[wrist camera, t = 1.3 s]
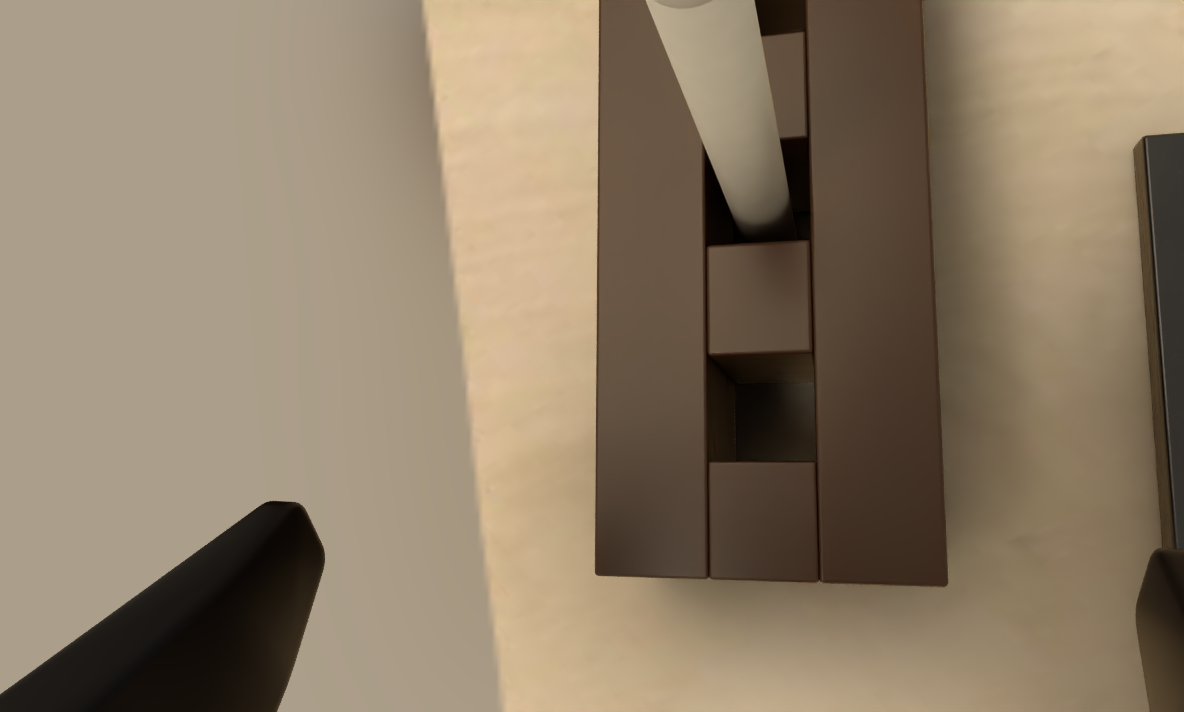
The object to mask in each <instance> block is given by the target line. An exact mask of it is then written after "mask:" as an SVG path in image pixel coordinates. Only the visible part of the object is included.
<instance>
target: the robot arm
mask: <svg viewBox="0 0 1184 712" xmlns="http://www.w3.org/2000/svg"><path fill="white" fill-rule="evenodd" d="M324 564H325V553H324V548H323V545H322V543H321V541H320V539H319V537H318V534H317V532H316V530H315V528H314V526H313V524H312V522H311V520H310V518H309V516H308V513H307V512H306V510H305V508H304V507H303V506H302V505H300V504H299V503H296V502H282V501H270V502H266V503H264V504H262V505H261V506H259V507H258V508H256V509H255V510H254V511H252V512H251V513H249V514H248V515H247V516H245V517H244V518H242V519H241V520H240V521H238V522H237V523H236V524H234V525H233V526H231V528H229V529H227V530H226V531H225V532H223V533H222V534H220V535H219V536H218V537H216V538H215V539H214V540H213V541H211V542H210V543H208V544H207V545H205V546H204V547H203V548H201V549H200V550H198V551H197V552H196V553H194V554H193V555H192V556H190V557H189V558H188V559H186V560H185V561H183V562H182V563H181V564H179V565H178V566H176V567H175V568H174V569H172V570H171V571H170V572H168V573H167V574H165V575H164V576H163V577H161V578H160V579H159V580H157V581H156V582H154V583H153V584H152V585H150V586H149V587H148V588H146V589H145V590H144V591H142V592H141V593H139V594H138V595H137V596H135V597H134V598H132V599H131V600H130V601H128V602H127V603H126V604H124V605H123V606H121V607H120V608H119V609H117V610H116V611H114V612H113V613H112V614H111V615H109V616H108V617H106V618H105V619H104V620H102V621H101V622H99V623H98V624H97V625H95V626H94V627H92V628H91V629H90V630H88V631H87V632H86V633H84V634H83V635H81V636H80V637H79V638H77V639H76V640H75V641H73V642H72V643H70V644H69V645H68V646H66V647H65V648H64V649H62V650H61V651H59V652H58V653H57V654H55V655H54V656H53V657H51V658H50V659H48V660H47V661H46V662H44V663H43V664H42V665H40V666H39V667H37V668H36V669H35V670H33V671H32V672H31V673H29V674H28V675H27V676H25V677H24V678H22V679H21V680H19V681H18V682H17V683H15V684H14V685H13V686H11V687H10V688H8V689H7V690H6V691H4V692H3V693H1V694H0V712H277V710H278V708H279V705H280V703H281V700H282V698H283V695H284V693H285V690H286V687H287V685H288V682H289V679H290V676H291V673H292V670H293V667H294V664H295V661H296V658H297V655H298V651H299V648H300V645H301V641H302V638H303V635H304V632H305V628H306V625H307V622H308V619H309V615H310V612H311V609H312V606H313V602H314V599H315V596H316V592H317V589H318V586H319V582H320V579H321V576H322V573H323V569H324ZM1136 628H1137V634H1138V640H1139V647H1140V653H1141V659H1142V665H1143V672H1144V678H1145V684H1146V690H1147V696H1148V703H1149V709H1150V712H1184V549H1175V548H1159V549H1157V550H1155V551H1154V552H1153V553H1152V555H1151V557H1150V560H1149V563H1148V566H1147V570H1146V573H1145V576H1144V580H1143V583H1142V587H1141V590H1140V593H1139V597H1138V600H1137V604H1136Z"/></svg>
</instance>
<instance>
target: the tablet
mask: <svg viewBox="0 0 1184 712" xmlns="http://www.w3.org/2000/svg"><path fill="white" fill-rule="evenodd" d="M1133 151H1134V165H1135V178H1136V191H1137V205H1138V218H1139V232H1140V245H1141V258H1142V272H1143V285H1144V299H1145V312H1146V326H1147V339H1148V352H1149V366H1150V379H1151V393H1152V406H1153V420H1154V433H1155V446H1156V460H1157V473H1158V487H1159V500H1160V514H1161V527H1162V540H1163V548H1175V549H1184V133H1175V134H1162V135H1149V136H1144V137H1143V138H1142V139H1141V140H1140V141H1139V142H1138V144H1137V145H1136V146H1135V147H1134V150H1133Z"/></svg>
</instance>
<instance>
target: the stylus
mask: <svg viewBox="0 0 1184 712" xmlns="http://www.w3.org/2000/svg"><path fill="white" fill-rule="evenodd" d="M646 3H647V5H648V8H649V10H650V12H651V15H652V17H653V20H654V22H655V25H656V27H657V30H658V32H659V35H660V37H661V40H662V42H663V45H664V47H665V50H666V52H667V55H668V57H669V60H670V62H671V65H672V67H673V70H674V72H675V74H676V77H677V79H678V82H679V84H680V87H681V89H682V92H683V94H684V97H685V99H686V102H687V104H688V107H689V109H690V112H691V114H692V117H693V119H694V122H695V124H696V127H697V129H698V132H699V134H700V137H701V139H702V141H703V144H704V146H705V149H706V151H707V154H708V156H709V159H710V161H711V164H712V166H713V169H714V171H715V174H716V176H717V179H718V181H719V184H720V186H721V189H722V191H723V194H724V196H725V199H726V201H727V203H728V206H729V208H730V211H731V213H732V216H733V218H734V221H735V223H736V226H737V228H738V231H739V233H740V236H741V238H742V241H743V243H759V242H777V241H794V240H797V234H796V228H795V223H794V217H793V212H792V206H791V201H790V195H789V190H788V184H787V178H786V173H785V167H784V162H783V156H782V151H781V145H780V140H779V134H778V128H777V123H776V117H775V112H774V106H773V101H772V95H771V90H770V84H769V78H768V73H767V67H766V62H765V56H764V51H763V45H762V39H761V34H760V28H759V23H758V17H757V12H756V6H755V1H754V0H646Z"/></svg>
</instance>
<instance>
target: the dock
mask: <svg viewBox="0 0 1184 712" xmlns="http://www.w3.org/2000/svg"><path fill="white" fill-rule="evenodd" d="M754 1H755V6H756V12H757V17H758V23H759V28H760V34H761V39H762V45H763V51H764V56H765V62H766V67H767V73H768V78H769V84H770V90H771V95H772V101H773V106H774V112H775V117H776V123H777V128H778V134H779V140H780V145H781V151H782V156H783V162H784V167H785V173H786V178H787V184H788V190H789V195H790V201H791V206H792V212H796V211H810V228H811V243H810V241H808V240H794V241H777V242H759V243H742V244H733V216H732V213H731V211H730V208H729V206H728V203H727V201H726V199H725V196H724V194H723V191H722V189H721V186H720V184H719V181H718V179H717V176H716V174H715V171H714V169H713V166H712V164H711V161H710V159H709V156H708V154H707V151H706V149H705V146H704V144H703V141H702V139H701V137H700V134H699V132H698V129H697V127H696V124H695V122H694V119H693V117H692V114H691V112H690V109H689V107H688V104H687V102H686V99H685V97H684V94H683V92H682V89H681V87H680V84H679V82H678V79H677V77H676V74H675V72H674V70H673V67H672V65H671V62H670V60H669V57H668V55H667V52H666V50H665V47H664V45H663V42H662V40H661V37H660V35H659V32H658V30H657V27H656V25H655V22H654V20H653V17H652V15H651V12H650V10H649V8H648V5H647V3H646V0H599V93H598V229H597V365H596V501H595V574H596V575H598V576H617V577H647V578H677V579H708V578H709V577H710V579H712V580H737V581H767V582H797V583H817V582H818V581H819V579H820V582H822V583H830V584H860V585H890V586H920V587H946V586H947V585H948V566H947V543H946V520H945V497H944V474H943V451H942V428H941V405H940V382H939V359H938V335H937V312H936V289H935V266H934V243H933V220H932V197H931V174H930V151H929V128H928V105H927V81H926V58H925V35H924V12H923V0H754ZM735 382H736V383H782V382H814V389H815V429H816V462H814V461H736V440H735Z"/></svg>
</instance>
